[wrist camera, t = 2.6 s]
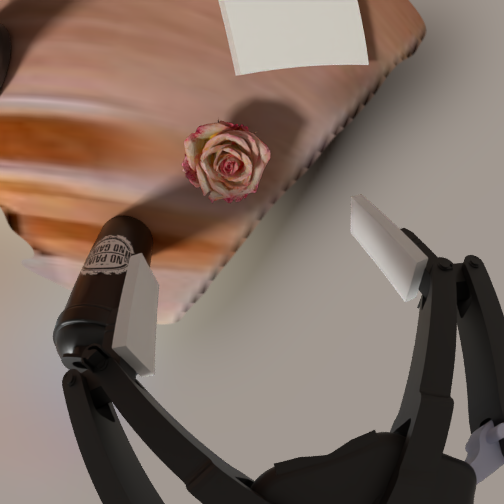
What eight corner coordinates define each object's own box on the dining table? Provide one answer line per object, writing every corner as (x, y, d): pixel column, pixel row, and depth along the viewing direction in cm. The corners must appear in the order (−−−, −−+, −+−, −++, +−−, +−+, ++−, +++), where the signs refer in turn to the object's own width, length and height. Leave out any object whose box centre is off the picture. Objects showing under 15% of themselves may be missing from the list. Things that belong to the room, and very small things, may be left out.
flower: (268, 131, 32) (287, 146, 26) (239, 191, 37) (249, 219, 30) (198, 103, 28) (198, 109, 22) (171, 168, 33) (165, 193, 27)
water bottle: (155, 208, 36) (131, 354, 18) (161, 266, 41) (155, 404, 23) (89, 212, 33) (26, 345, 15) (102, 267, 39) (71, 397, 21)
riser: (236, 75, 27) (241, 74, 24) (210, -30, 17) (213, -42, 14) (352, 64, 28) (368, 65, 25) (332, -32, 18) (346, -40, 15)
